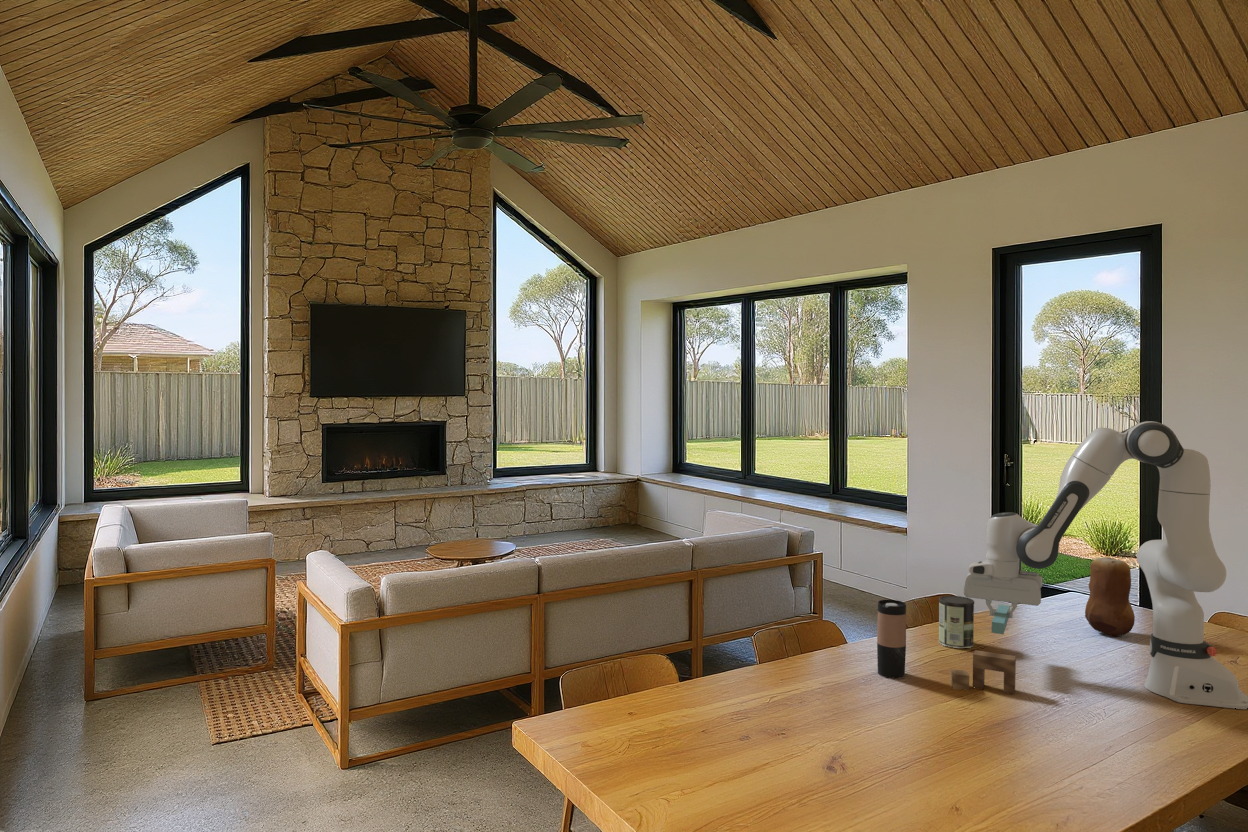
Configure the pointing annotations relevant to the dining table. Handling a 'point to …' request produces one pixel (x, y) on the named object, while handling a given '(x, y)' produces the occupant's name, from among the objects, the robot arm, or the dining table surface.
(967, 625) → the coffee can
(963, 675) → the bead cube
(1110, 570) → the butternut squash
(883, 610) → the travel mug
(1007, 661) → the wooden u-shaped block
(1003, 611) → the teal square bar
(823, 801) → the dining table surface
